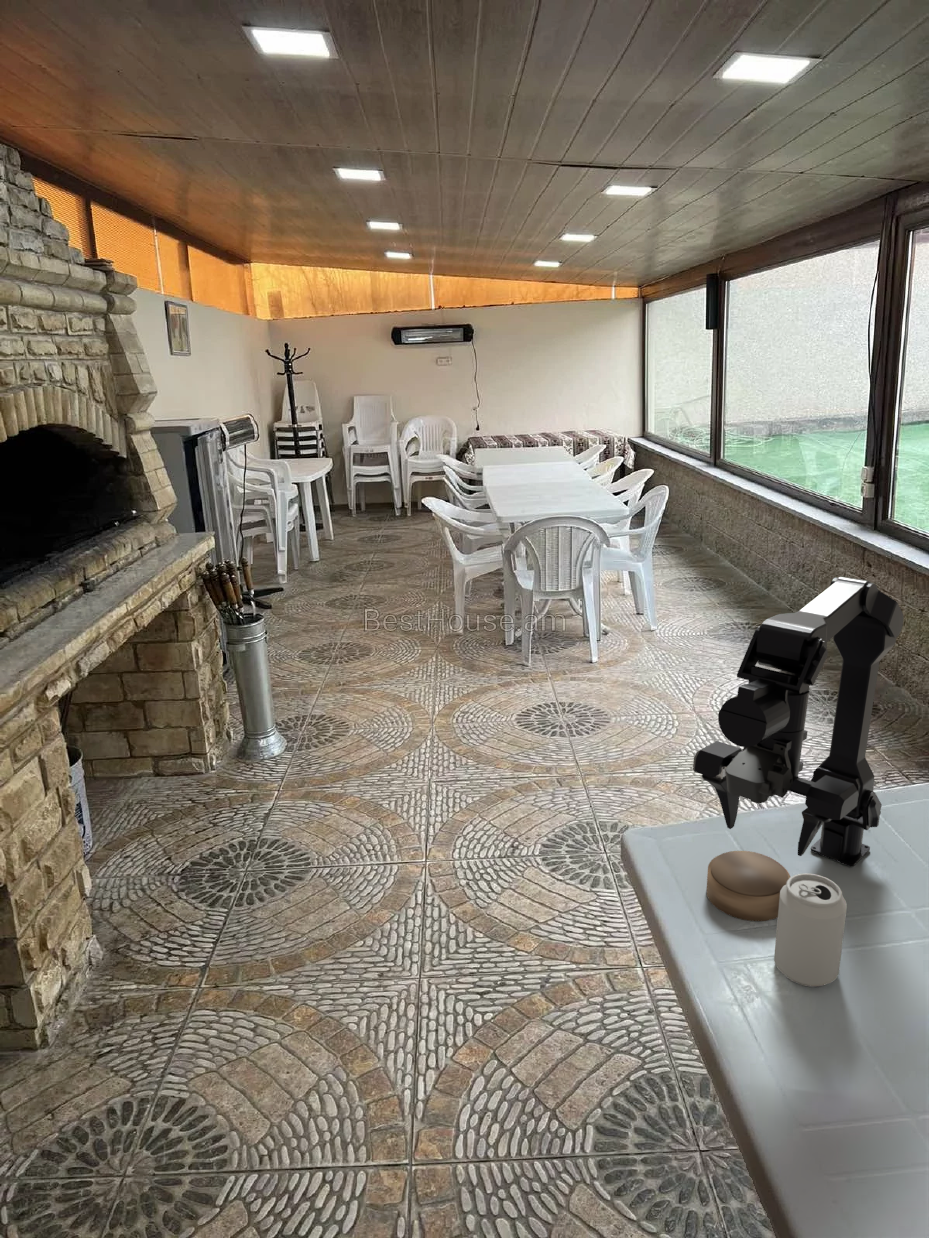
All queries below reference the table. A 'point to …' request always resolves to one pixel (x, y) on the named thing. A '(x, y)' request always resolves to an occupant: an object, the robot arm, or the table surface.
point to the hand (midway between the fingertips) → (764, 840)
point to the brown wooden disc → (746, 885)
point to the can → (810, 930)
